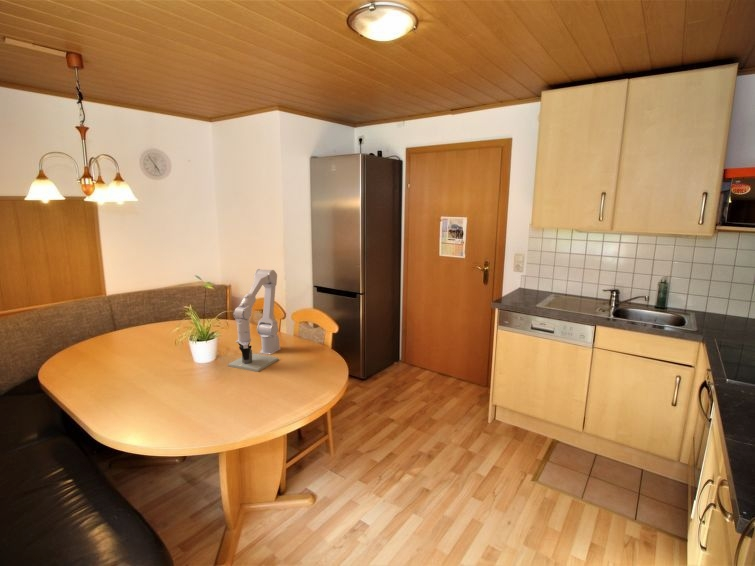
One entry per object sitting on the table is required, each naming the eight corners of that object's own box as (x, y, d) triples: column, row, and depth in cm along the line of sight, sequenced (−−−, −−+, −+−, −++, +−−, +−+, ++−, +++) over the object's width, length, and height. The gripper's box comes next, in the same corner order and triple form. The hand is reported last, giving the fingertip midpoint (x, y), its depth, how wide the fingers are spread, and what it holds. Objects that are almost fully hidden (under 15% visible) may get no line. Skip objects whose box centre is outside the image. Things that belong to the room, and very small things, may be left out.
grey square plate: (249, 354, 218) (249, 347, 218) (278, 359, 211) (278, 351, 211) (228, 366, 204) (227, 358, 203) (257, 371, 197) (257, 363, 196)
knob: (242, 359, 207) (242, 348, 206) (252, 359, 208) (252, 347, 207) (242, 363, 203) (241, 351, 202) (252, 362, 204) (251, 350, 203)
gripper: (234, 327, 208) (236, 353, 210) (235, 336, 194) (238, 364, 197) (249, 326, 210) (251, 351, 213) (251, 334, 197) (253, 362, 200)
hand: (245, 357), depth 205 cm, fingers closed on knob, 5 cm apart
